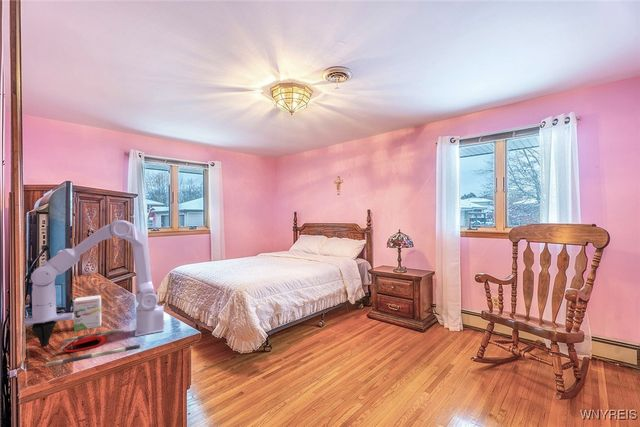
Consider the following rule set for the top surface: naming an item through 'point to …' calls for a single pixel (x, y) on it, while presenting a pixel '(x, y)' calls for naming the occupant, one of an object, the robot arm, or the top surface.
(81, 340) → the tracker holder
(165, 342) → the top surface
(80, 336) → the track
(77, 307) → the ink box
